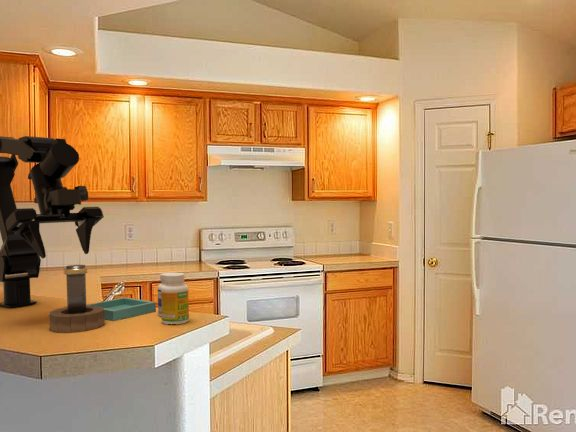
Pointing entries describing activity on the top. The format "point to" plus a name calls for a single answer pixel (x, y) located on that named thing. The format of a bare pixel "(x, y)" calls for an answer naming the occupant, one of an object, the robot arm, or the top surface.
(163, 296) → the supplement bottle
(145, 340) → the top surface
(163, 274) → the pill bottle
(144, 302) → the tray
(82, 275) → the steel pin
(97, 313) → the socket
